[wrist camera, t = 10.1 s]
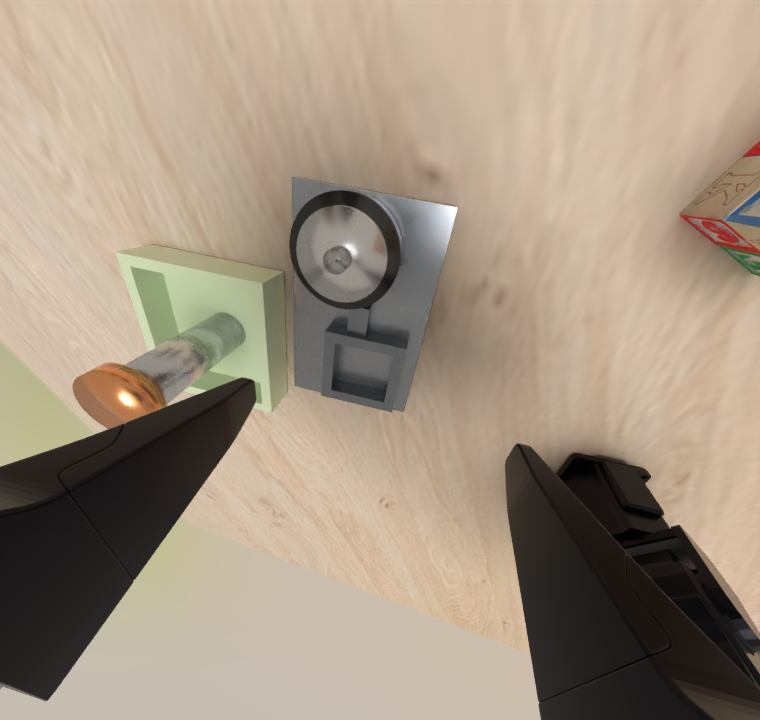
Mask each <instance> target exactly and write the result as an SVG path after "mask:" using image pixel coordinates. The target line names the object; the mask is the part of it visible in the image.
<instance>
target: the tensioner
mask: <svg viewBox="0 0 760 720" xmlns="http://www.w3.org/2000/svg"><path fill="white" fill-rule="evenodd" d="M292 198H293V226H292V229H291V234H290V254H291V260H292V263H293V282H294V367H295V386H297V387H302V388H306V389H310V390H314V391H318V392H322V393H321V395H322V396H326V397H331V398H335V399H339V400H343V401H347V402H352V403H356V404H360V405H364V406H368V407H372V408H377V409H381V410H385V411H389V412H392V410H393V409H394V410H398V411H402V412H404V409H405V405H406V401H407V397H408V394H409V390H410V386H411V382H412V378H413V375H414V371H415V367H416V363H417V360H418V356H419V352H420V348H421V344H422V341H423V337H424V333H425V329H426V326H427V322H428V318H429V314H430V310H431V307H432V303H433V299H434V295H435V292H436V288H437V284H438V280H439V276H440V273H441V269H442V265H443V261H444V258H445V254H446V250H447V246H448V242H449V239H450V235H451V231H452V227H453V224H454V220H455V216H456V212H457V208H458V207H457V206H452V205H446V204H441V203H435V202H430V201H425V200H419V199H414V198H408V197H403V196H397V195H392V194H387V193H381V192H376V191H370V190H365V189H360V188H354V187H349V186H343V185H338V184H333V183H327V182H322V181H316V180H311V179H305V178H300V177H292Z"/></svg>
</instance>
